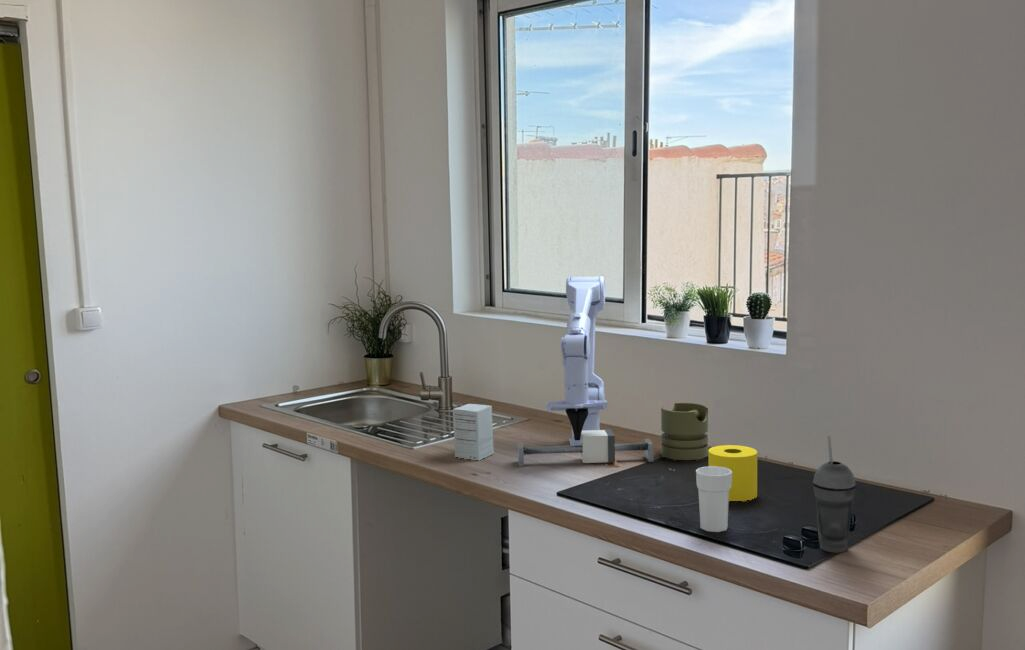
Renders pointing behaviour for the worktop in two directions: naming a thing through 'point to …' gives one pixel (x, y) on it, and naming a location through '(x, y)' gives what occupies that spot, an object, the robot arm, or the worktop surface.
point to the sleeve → (594, 446)
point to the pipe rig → (578, 449)
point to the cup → (713, 497)
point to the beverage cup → (833, 503)
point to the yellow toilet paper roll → (737, 469)
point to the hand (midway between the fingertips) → (577, 439)
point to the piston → (685, 431)
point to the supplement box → (473, 431)
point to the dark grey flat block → (611, 445)
